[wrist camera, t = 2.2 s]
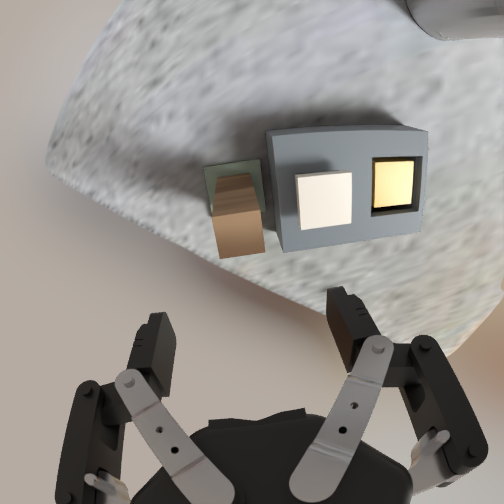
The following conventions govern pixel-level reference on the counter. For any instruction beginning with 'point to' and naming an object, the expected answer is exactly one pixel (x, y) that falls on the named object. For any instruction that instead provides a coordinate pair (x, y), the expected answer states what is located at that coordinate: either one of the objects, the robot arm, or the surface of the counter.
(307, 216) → the on button
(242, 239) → the tall wooden block
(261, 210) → the rubber mat
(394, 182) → the plunger
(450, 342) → the counter surface
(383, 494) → the robot arm
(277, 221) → the switch panel
